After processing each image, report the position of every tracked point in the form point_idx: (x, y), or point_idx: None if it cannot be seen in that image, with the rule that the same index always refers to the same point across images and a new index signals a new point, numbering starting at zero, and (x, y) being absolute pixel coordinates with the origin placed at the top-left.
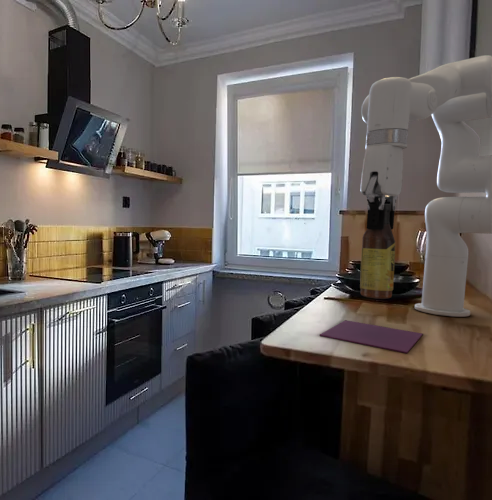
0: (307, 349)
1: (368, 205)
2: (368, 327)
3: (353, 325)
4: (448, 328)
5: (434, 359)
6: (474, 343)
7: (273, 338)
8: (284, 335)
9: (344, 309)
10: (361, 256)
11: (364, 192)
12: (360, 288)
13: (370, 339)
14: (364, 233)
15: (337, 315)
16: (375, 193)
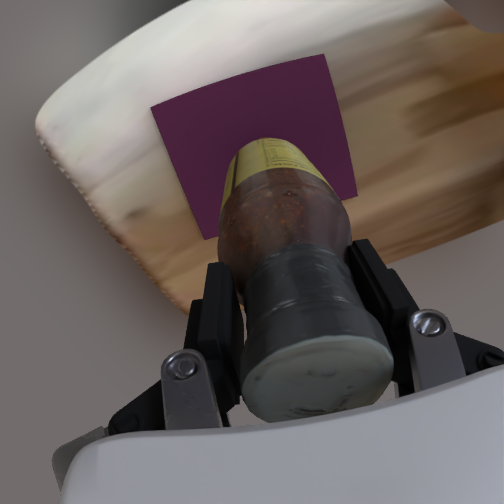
0: (71, 161)
1: (164, 381)
2: (306, 116)
3: (292, 90)
4: (442, 198)
5: None
6: None
7: (61, 94)
8: (91, 82)
9: (431, 5)
10: (240, 173)
11: (174, 454)
12: (240, 149)
13: (216, 171)
14: (245, 217)
15: (362, 16)
16: (500, 390)
